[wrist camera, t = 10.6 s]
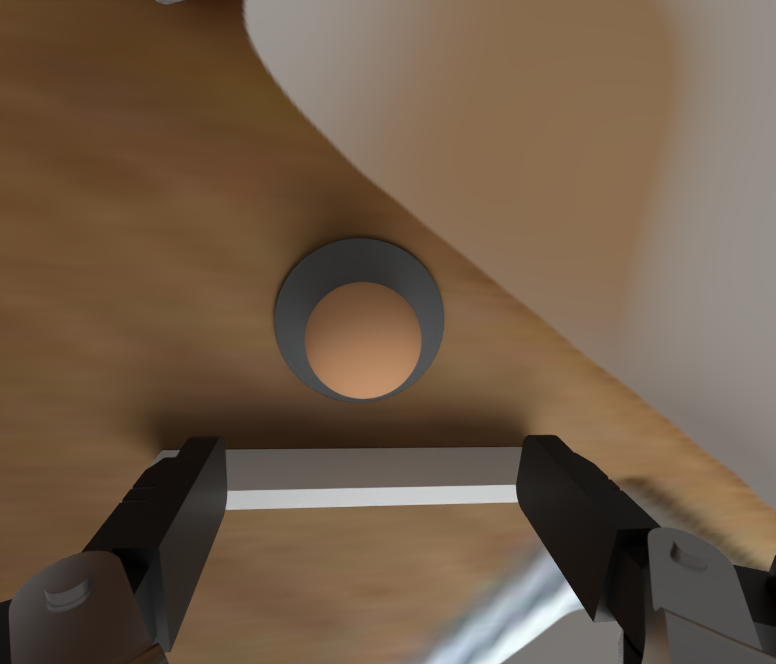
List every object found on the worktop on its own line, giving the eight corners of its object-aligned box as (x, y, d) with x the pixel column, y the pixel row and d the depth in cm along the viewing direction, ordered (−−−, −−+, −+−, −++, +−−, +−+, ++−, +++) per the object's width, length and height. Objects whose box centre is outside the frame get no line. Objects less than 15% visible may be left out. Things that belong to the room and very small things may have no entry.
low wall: (164, 467, 25) (131, 512, 21) (162, 450, 24) (128, 493, 21) (527, 461, 28) (556, 501, 24) (529, 446, 27) (560, 483, 23)
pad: (356, 429, 25) (357, 432, 25) (238, 320, 23) (237, 321, 22) (475, 327, 24) (476, 328, 24) (366, 199, 22) (366, 199, 21)
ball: (358, 391, 24) (363, 444, 19) (287, 323, 23) (269, 358, 17) (431, 327, 24) (459, 361, 18) (363, 252, 22) (371, 264, 16)
